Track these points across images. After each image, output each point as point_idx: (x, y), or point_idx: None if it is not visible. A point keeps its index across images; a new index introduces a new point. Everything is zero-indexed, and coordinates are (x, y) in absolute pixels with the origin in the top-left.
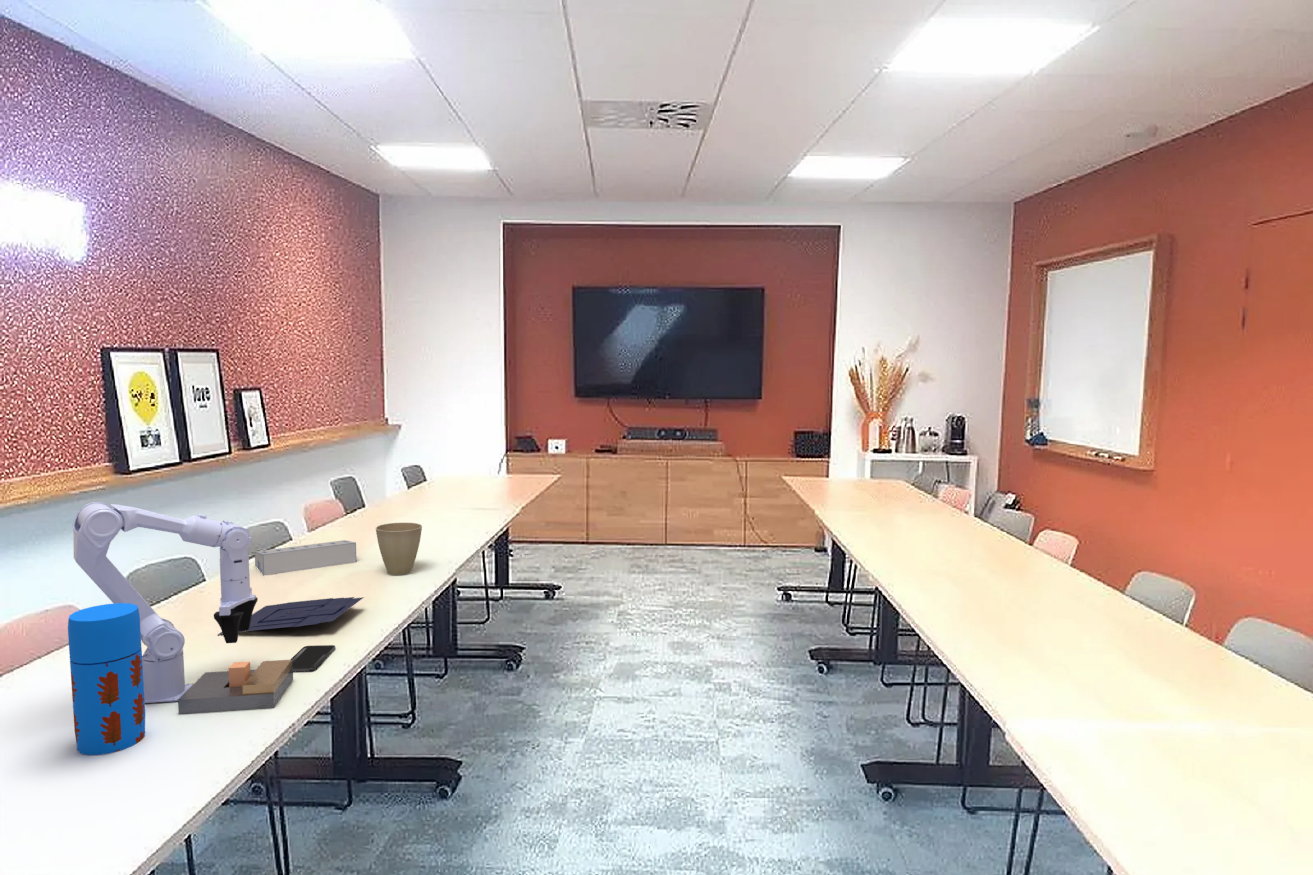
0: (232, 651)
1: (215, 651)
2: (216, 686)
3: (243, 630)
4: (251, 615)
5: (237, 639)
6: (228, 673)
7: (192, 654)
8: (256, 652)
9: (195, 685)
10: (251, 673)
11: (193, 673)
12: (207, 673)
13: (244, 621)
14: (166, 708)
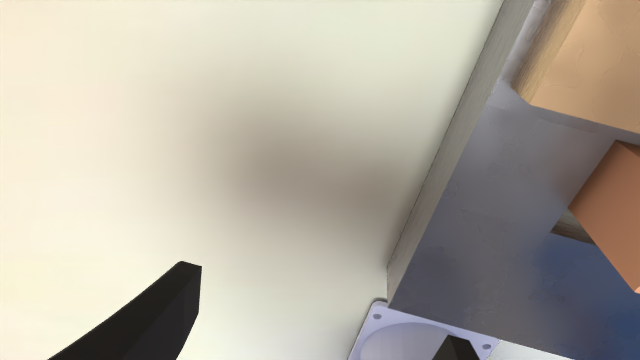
0: (56, 196)
1: (56, 242)
2: (607, 282)
3: (198, 292)
4: (82, 350)
5: (459, 349)
6: (453, 240)
7: (82, 294)
8: (67, 113)
9: (527, 337)
10: (528, 147)
11: (250, 294)
12: (406, 303)
13: (154, 350)
14: (532, 351)
